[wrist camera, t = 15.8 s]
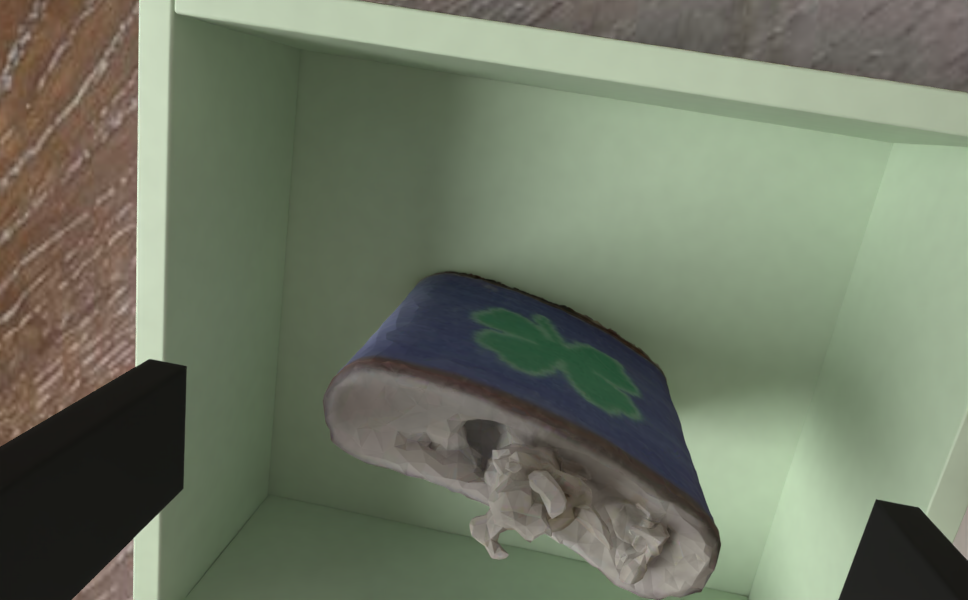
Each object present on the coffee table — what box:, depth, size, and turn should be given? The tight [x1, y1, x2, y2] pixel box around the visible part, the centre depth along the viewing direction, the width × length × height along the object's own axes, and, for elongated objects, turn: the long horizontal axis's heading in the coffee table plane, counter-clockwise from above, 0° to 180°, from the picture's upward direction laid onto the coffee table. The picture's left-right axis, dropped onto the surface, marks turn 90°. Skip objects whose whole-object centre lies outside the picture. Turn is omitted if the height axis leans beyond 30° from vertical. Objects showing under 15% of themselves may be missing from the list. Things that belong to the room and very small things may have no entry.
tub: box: [133, 0, 968, 600], centre depth 19 cm, size 20×18×8 cm
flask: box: [323, 271, 721, 600], centre depth 17 cm, size 9×3×11 cm, turn 66°
